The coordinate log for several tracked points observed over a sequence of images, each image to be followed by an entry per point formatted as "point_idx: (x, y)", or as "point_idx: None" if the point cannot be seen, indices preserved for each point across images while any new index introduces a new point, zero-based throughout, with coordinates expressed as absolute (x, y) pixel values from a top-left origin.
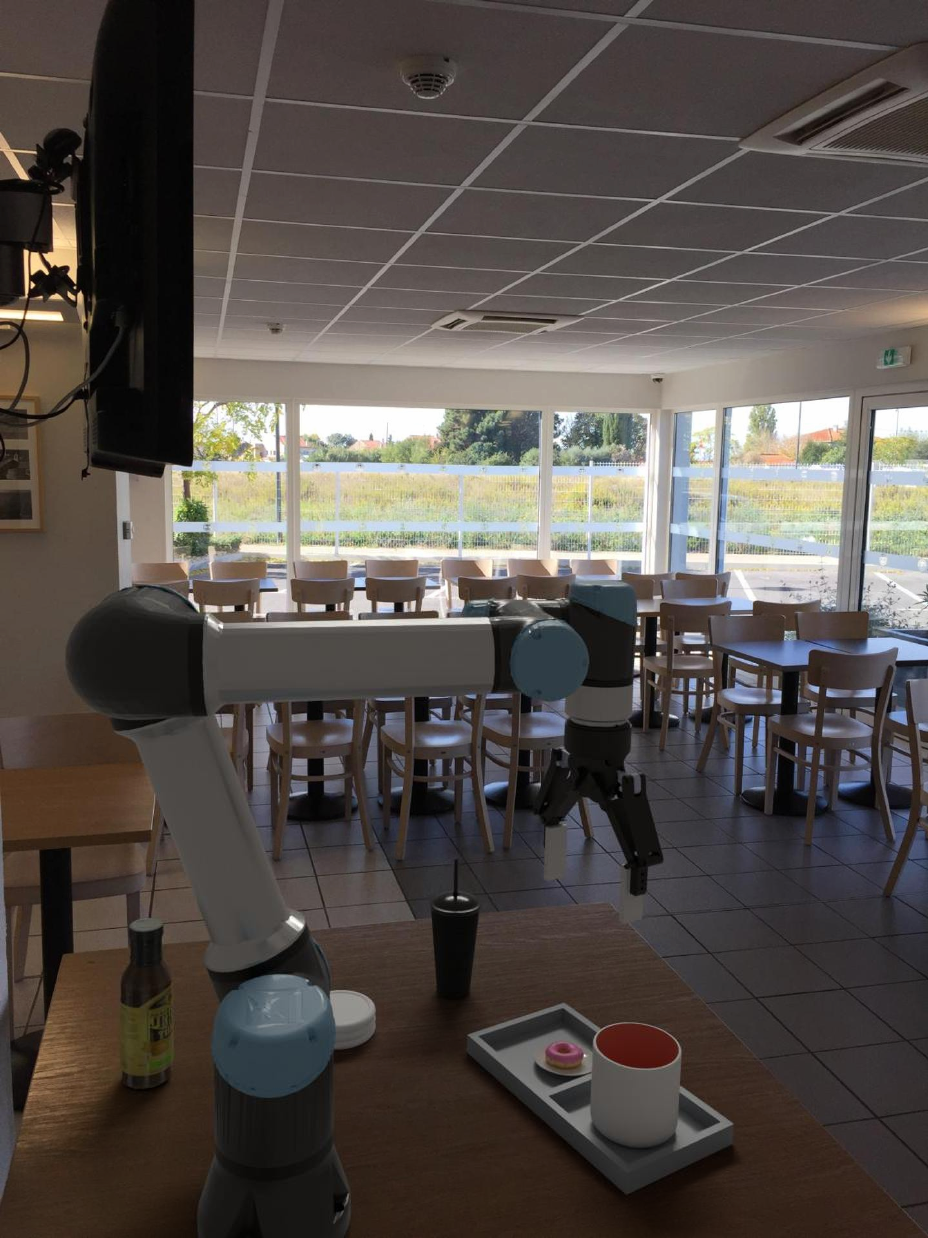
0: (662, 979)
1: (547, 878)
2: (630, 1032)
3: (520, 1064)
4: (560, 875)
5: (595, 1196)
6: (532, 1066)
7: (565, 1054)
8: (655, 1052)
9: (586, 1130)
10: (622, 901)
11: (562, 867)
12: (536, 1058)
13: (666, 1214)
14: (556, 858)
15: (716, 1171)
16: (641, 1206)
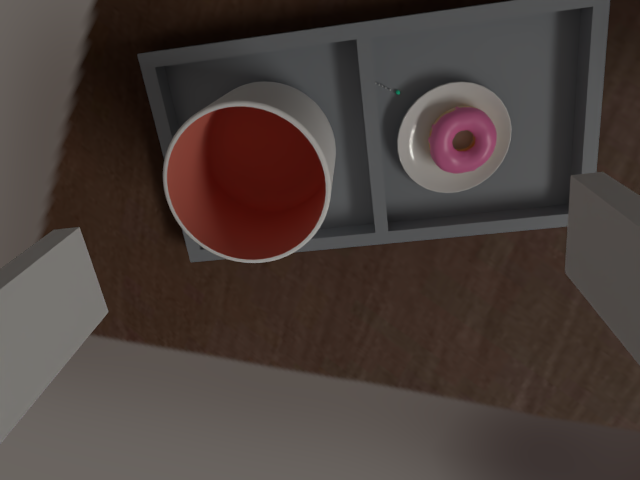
0: (582, 410)
1: (577, 178)
2: (319, 214)
3: (495, 62)
4: (570, 251)
5: (161, 5)
6: (478, 80)
7: (445, 133)
8: (289, 234)
9: (248, 51)
10: (12, 270)
11: (585, 278)
12: (483, 91)
13: (102, 82)
14: (614, 266)
15: (159, 197)
16: (124, 59)
